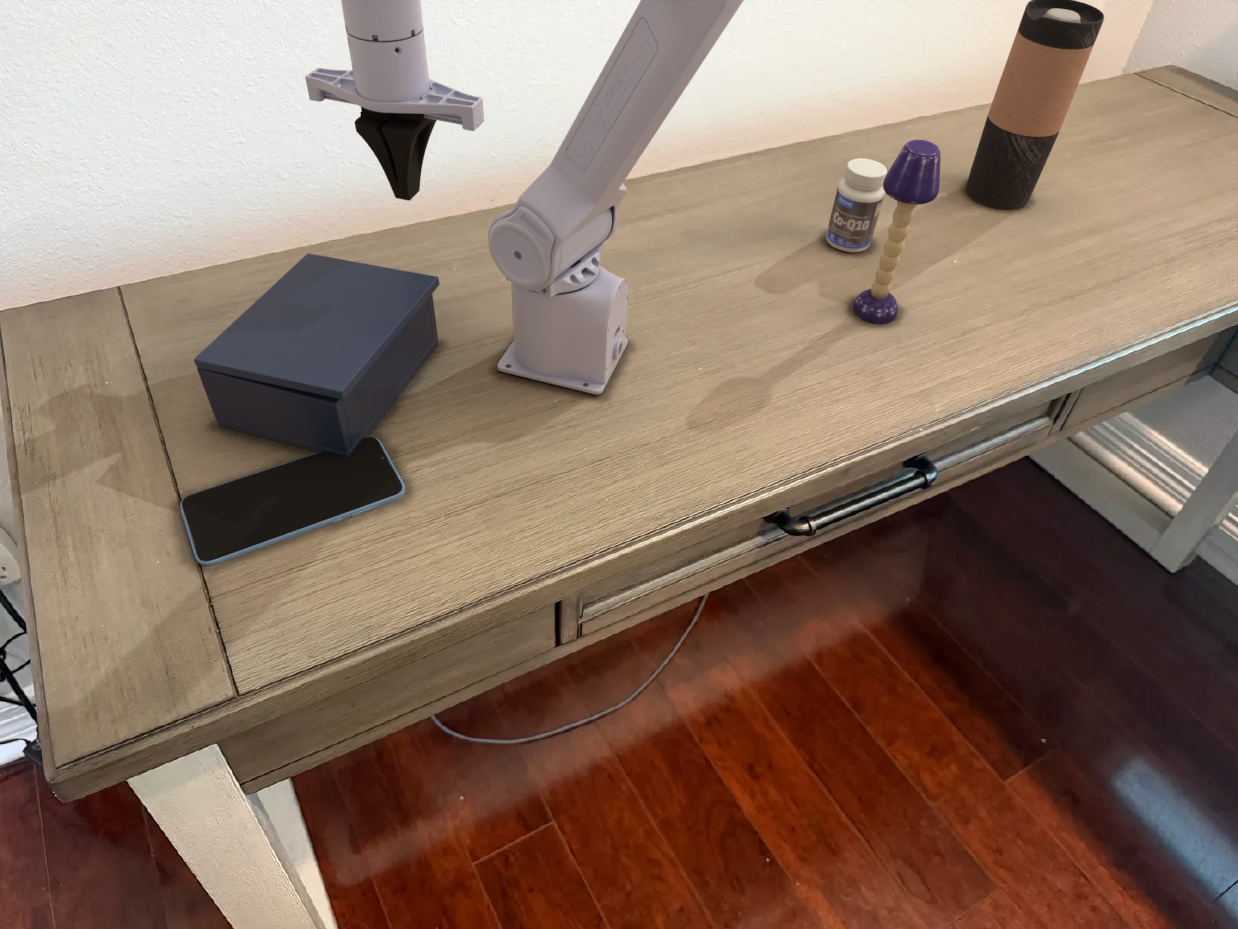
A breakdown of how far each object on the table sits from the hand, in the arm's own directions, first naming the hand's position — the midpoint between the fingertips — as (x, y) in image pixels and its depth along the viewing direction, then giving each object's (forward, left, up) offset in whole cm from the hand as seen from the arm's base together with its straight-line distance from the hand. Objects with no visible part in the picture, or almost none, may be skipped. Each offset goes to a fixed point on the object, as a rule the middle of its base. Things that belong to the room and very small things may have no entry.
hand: (407, 194), depth 77 cm
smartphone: (-3, +27, -11) cm, 29 cm away
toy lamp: (-41, -13, -11) cm, 44 cm away
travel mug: (-52, -42, -11) cm, 68 cm away
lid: (+1, +14, -4) cm, 15 cm away
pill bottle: (-37, -25, -11) cm, 46 cm away
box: (+1, +14, -10) cm, 17 cm away
